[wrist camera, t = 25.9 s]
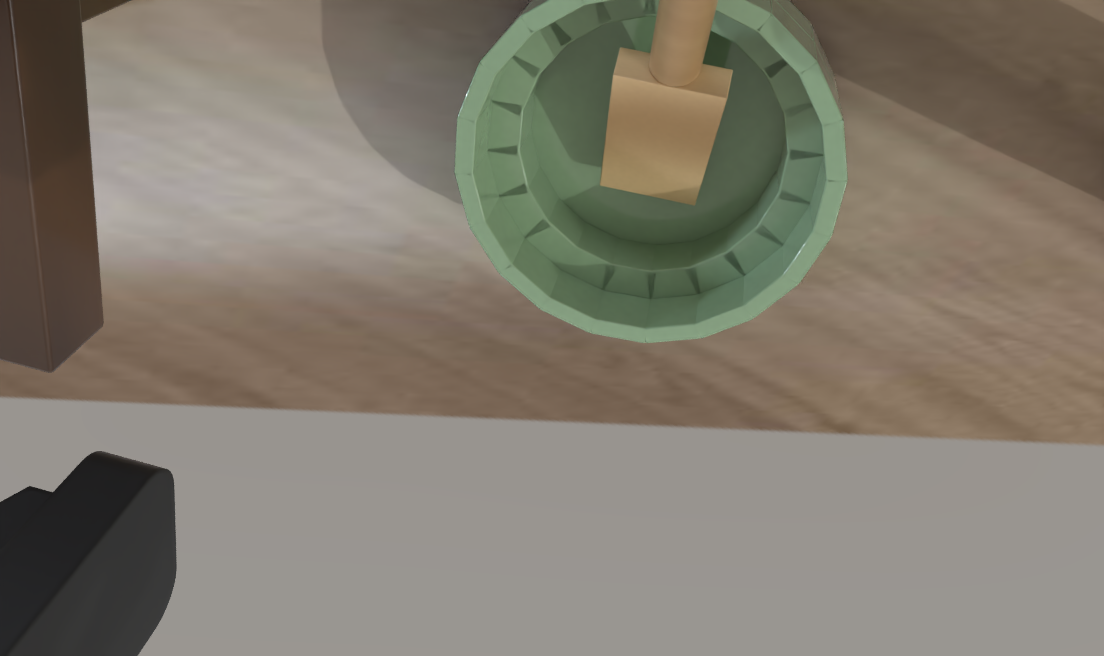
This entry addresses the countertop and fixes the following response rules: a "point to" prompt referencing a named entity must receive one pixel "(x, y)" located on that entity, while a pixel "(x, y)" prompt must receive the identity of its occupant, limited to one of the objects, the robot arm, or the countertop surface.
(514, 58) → the bowl
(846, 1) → the countertop surface
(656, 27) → the spatula
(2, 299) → the wooden pedestal stand
